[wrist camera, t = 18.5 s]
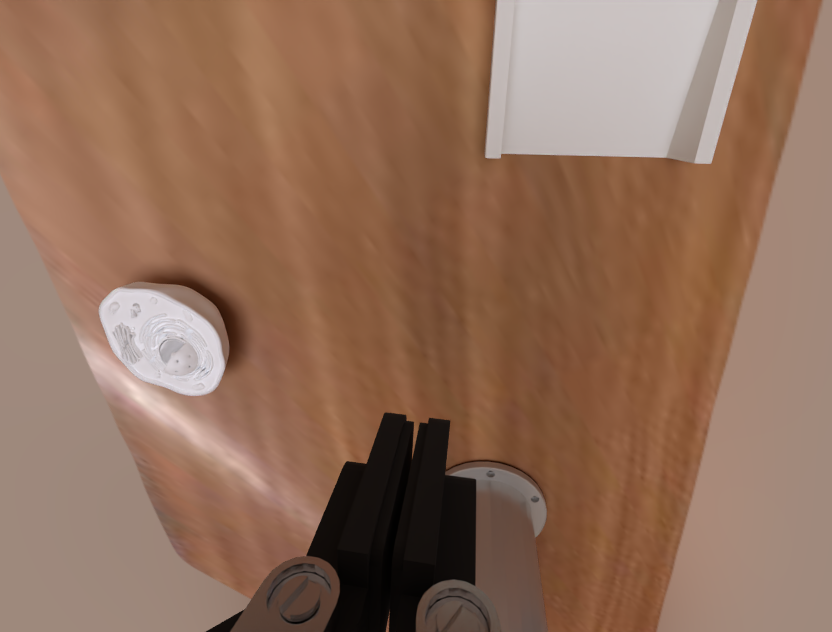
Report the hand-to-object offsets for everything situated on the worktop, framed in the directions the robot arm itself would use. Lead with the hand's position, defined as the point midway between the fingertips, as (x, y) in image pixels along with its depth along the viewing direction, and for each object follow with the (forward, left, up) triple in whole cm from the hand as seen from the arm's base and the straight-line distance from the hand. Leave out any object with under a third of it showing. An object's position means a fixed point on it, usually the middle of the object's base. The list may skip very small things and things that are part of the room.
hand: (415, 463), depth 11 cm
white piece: (+15, -9, -28) cm, 33 cm away
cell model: (-10, +25, -27) cm, 39 cm away
